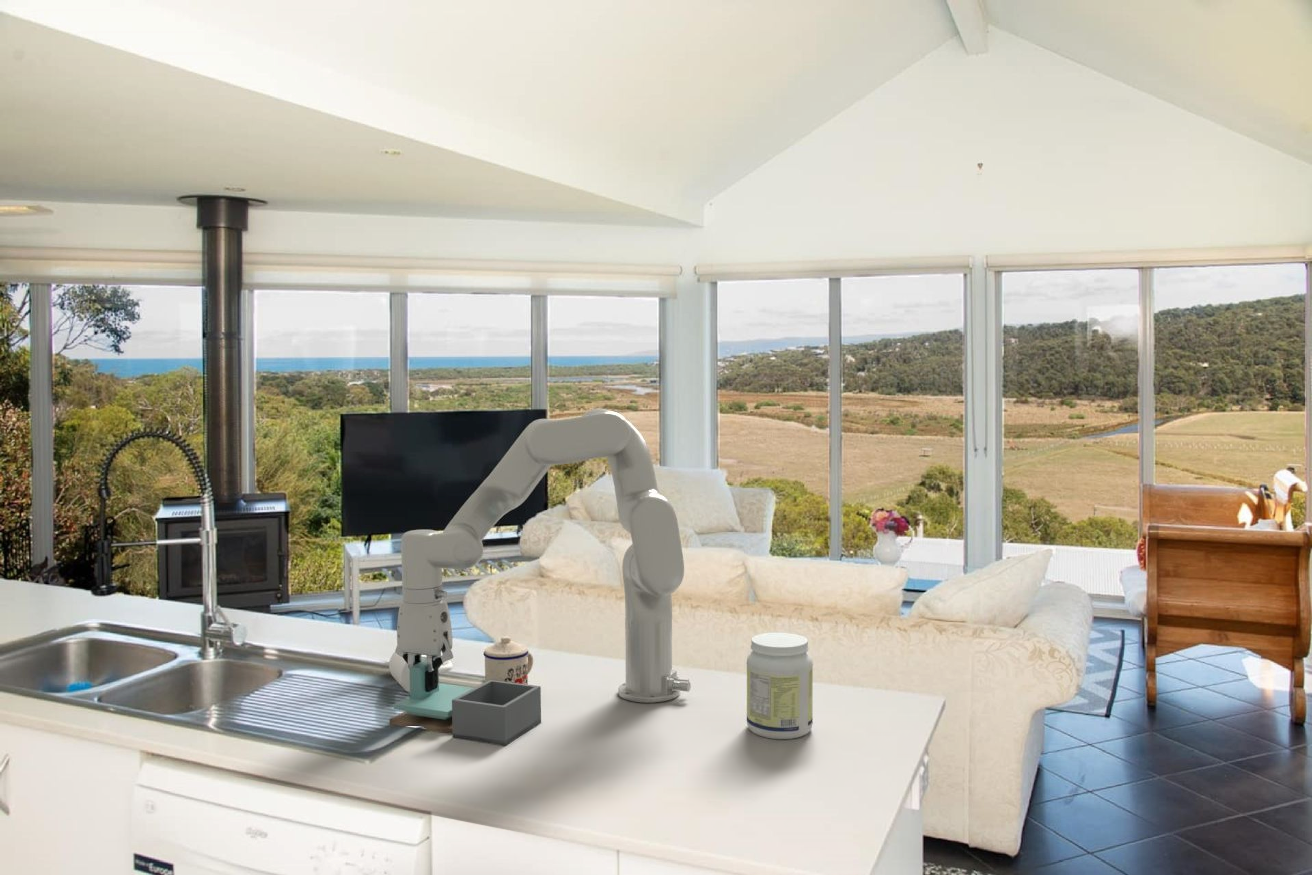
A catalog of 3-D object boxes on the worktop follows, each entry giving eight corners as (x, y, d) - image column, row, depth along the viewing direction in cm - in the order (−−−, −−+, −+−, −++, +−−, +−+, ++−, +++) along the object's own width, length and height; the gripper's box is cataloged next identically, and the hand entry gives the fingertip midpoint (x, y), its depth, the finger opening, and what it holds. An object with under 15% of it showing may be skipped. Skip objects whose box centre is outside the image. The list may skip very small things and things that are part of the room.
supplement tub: (774, 713, 202) (774, 627, 201) (826, 729, 194) (826, 639, 192) (732, 729, 194) (732, 639, 193) (784, 746, 185) (785, 652, 184)
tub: (541, 722, 198) (540, 686, 197) (505, 745, 186) (504, 707, 185) (490, 715, 202) (490, 679, 202) (452, 737, 190) (451, 699, 190)
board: (493, 710, 205) (493, 705, 205) (452, 734, 192) (452, 728, 192) (433, 701, 210) (433, 696, 210) (389, 724, 197) (389, 718, 197)
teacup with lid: (506, 702, 210) (505, 645, 209) (474, 694, 215) (473, 638, 214) (547, 687, 219) (547, 632, 218) (516, 679, 225) (516, 626, 224)
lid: (489, 700, 205) (488, 659, 204) (448, 723, 192) (447, 679, 192) (437, 693, 210) (436, 653, 209) (394, 715, 197) (392, 672, 196)
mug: (400, 697, 214) (399, 658, 213) (389, 684, 222) (388, 647, 222) (458, 688, 219) (457, 650, 219) (444, 676, 228) (443, 639, 227)
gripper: (469, 594, 201) (471, 688, 203) (399, 587, 208) (402, 678, 209) (446, 602, 194) (448, 699, 196) (375, 595, 201) (378, 689, 202)
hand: (424, 688), depth 202 cm, fingers closed on lid
